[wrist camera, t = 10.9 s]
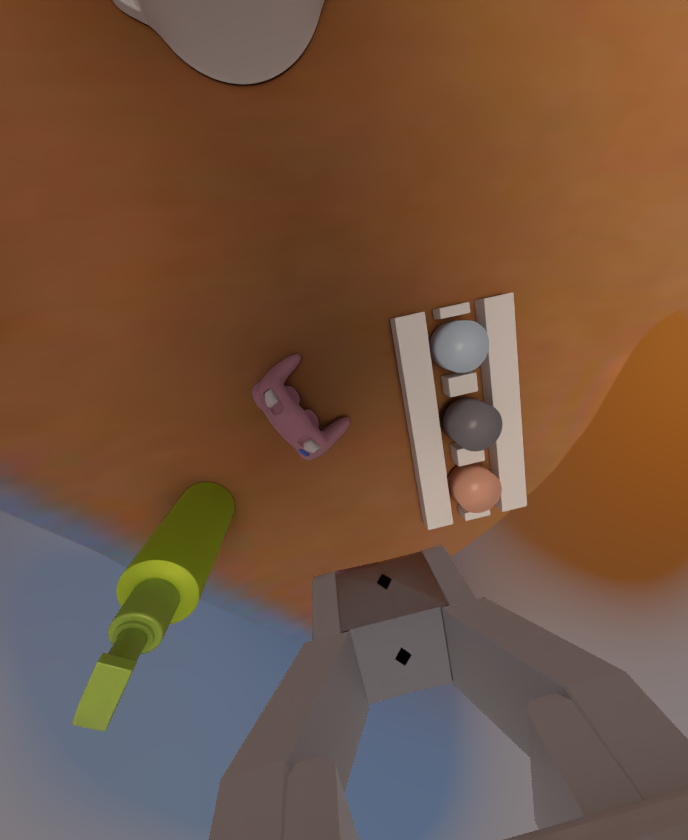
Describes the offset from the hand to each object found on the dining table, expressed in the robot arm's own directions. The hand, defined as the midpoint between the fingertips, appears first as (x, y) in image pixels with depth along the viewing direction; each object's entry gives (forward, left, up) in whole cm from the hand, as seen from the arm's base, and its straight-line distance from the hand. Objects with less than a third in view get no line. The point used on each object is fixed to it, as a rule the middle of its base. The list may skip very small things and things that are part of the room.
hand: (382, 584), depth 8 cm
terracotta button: (+15, +14, -29) cm, 35 cm away
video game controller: (+2, -3, -29) cm, 30 cm away
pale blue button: (-1, +14, -29) cm, 32 cm away
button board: (+7, +14, -29) cm, 33 cm away
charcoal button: (+7, +14, -28) cm, 32 cm away
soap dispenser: (+11, -16, -29) cm, 35 cm away
